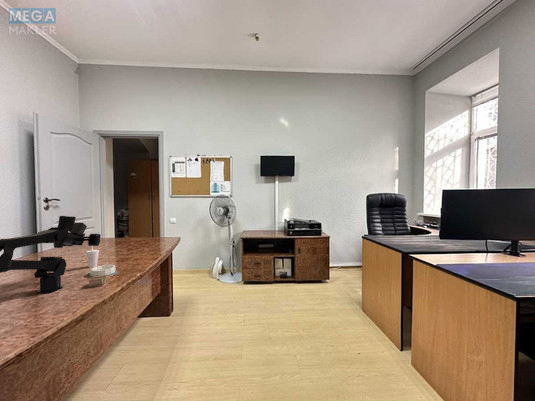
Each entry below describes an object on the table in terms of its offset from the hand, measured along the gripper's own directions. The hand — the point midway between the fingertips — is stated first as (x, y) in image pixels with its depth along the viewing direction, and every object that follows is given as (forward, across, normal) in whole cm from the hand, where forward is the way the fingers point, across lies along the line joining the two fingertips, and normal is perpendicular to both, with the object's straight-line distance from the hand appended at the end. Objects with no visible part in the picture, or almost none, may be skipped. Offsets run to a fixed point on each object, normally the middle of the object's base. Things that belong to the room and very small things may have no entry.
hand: (91, 241), depth 130 cm
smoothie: (+12, +5, +14) cm, 19 cm away
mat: (0, -9, +17) cm, 19 cm away
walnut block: (-16, -18, +22) cm, 32 cm away
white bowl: (0, -9, +17) cm, 19 cm away
